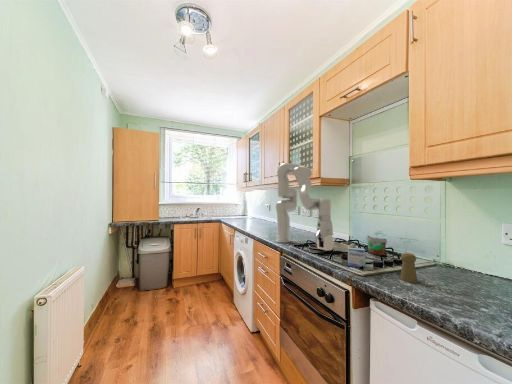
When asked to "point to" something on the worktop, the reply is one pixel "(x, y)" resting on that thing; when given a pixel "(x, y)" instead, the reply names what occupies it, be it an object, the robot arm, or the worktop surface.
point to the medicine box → (356, 257)
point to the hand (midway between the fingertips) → (324, 246)
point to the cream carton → (326, 243)
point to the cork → (408, 268)
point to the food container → (376, 246)
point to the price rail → (340, 246)
